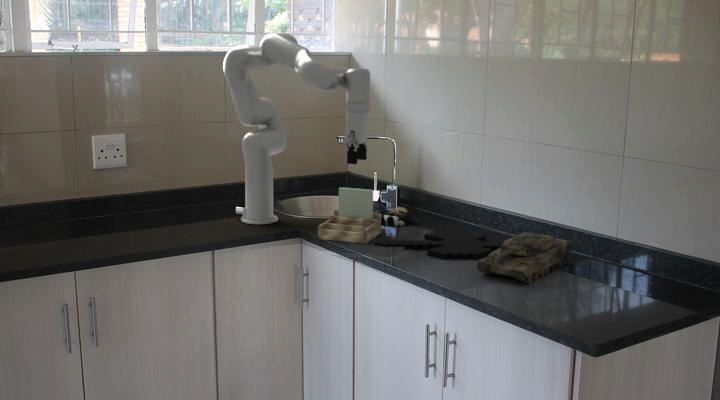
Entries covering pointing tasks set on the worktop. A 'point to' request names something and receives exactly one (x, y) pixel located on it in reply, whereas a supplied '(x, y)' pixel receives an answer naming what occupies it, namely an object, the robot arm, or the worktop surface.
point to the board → (355, 203)
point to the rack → (349, 230)
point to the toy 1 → (395, 216)
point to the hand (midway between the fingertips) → (356, 161)
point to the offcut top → (351, 221)
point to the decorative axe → (449, 245)
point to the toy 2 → (527, 257)
